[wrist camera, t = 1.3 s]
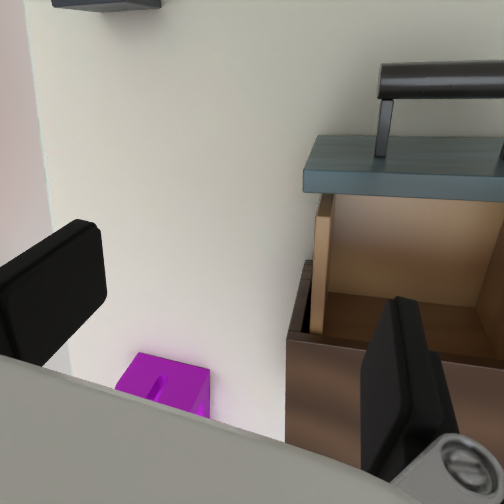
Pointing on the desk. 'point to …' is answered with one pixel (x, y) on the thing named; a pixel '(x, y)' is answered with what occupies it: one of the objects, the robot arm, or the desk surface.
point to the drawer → (413, 219)
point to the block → (106, 5)
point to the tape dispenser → (168, 383)
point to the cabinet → (348, 389)
